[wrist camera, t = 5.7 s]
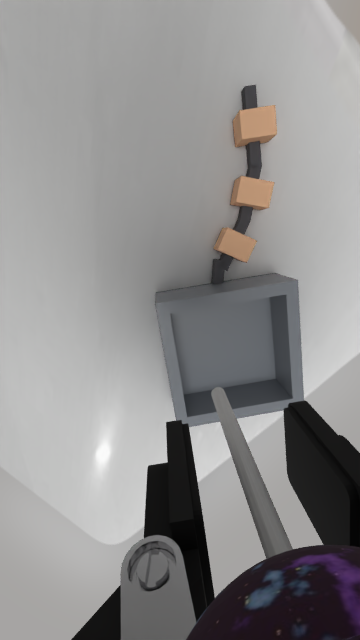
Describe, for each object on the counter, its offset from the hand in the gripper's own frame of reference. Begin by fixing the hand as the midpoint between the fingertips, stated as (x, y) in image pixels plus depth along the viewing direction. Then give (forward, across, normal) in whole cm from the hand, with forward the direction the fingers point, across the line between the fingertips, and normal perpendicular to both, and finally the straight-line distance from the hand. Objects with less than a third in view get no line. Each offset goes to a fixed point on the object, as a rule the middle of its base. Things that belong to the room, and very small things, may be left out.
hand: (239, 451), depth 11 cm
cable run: (+20, -6, -11) cm, 23 cm away
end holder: (+20, -3, +3) cm, 20 cm away
